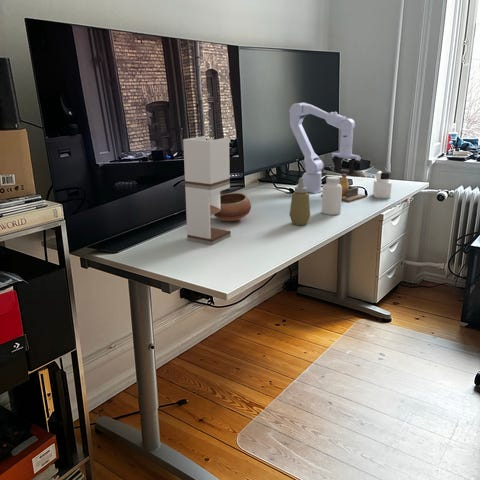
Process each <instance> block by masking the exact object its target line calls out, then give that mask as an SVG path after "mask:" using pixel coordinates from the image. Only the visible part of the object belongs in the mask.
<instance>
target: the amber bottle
mask: <svg viewBox="0 0 480 480" xmlns="http://www.w3.org/2000/svg"><path fill="white" fill-rule="evenodd" d="M347 177H348V176H347V173H341V178H340V181H339V183H338V184H340V185H341V186H342V196H346V190H348V187H349V186H350V185H349V183H350V182H349V180H348V179H347Z"/></svg>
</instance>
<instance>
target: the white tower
mask: <svg viewBox="0 0 480 480" xmlns="http://www.w3.org/2000/svg"><path fill="white" fill-rule="evenodd" d="M206 138H207V136H205V135H202V136H196V137H190V138H184V139H182V141H183V143H182V144H183V145H182V146H183V162H184V164H183V165H184V187H185V188H184V189H185V209H186V210H185V213H186V214H185V215H186V233H187V234H186V235H187V241H189V242H195V243H199V244H204V245H205V244H206V245H209V246H213V245H215V244H218V243H219V242H222V241H225V240H226V239H228V238H231V230H226V229H221V228H215V227H212V226H211V216H214V215H213V214H215V213H217V212H219V211H220V210H221V209H220V195H221V192H222V191H225V190H228V189H230V188H231V183H230V182H231V181H230V180H231V178H230V177H231V175H230V168H231V167H230V165H231V164H230V161H231V160H230V137H223V138H218V139H217V138H216V139H206Z"/></svg>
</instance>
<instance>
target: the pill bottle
mask: <svg viewBox="0 0 480 480" xmlns="http://www.w3.org/2000/svg"><path fill="white" fill-rule="evenodd" d="M340 179H341V178H340V177H338V176H327V177H326V181H325V182H326V183H324V184H323V185H322V190H323V191H322V192H321V193H322V194H321V195H322V197H321V213H322V214H325V215H329V216H336V215H340V214H341V212H342V211H341V210H342V201H341V198H342V186H341V185H340V184H339V181H340Z"/></svg>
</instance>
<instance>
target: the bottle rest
mask: <svg viewBox="0 0 480 480" xmlns="http://www.w3.org/2000/svg"><path fill="white" fill-rule="evenodd" d="M320 195H321V196H320V197H321V198H322V194H320ZM365 198H367V195H366V194H362V193H359V187H356V186H350V185H349V187H348V190H346V196H342V198H341V202H347V203H351V202H354V201H355V202H356V201H359V200H361V199H365Z"/></svg>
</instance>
